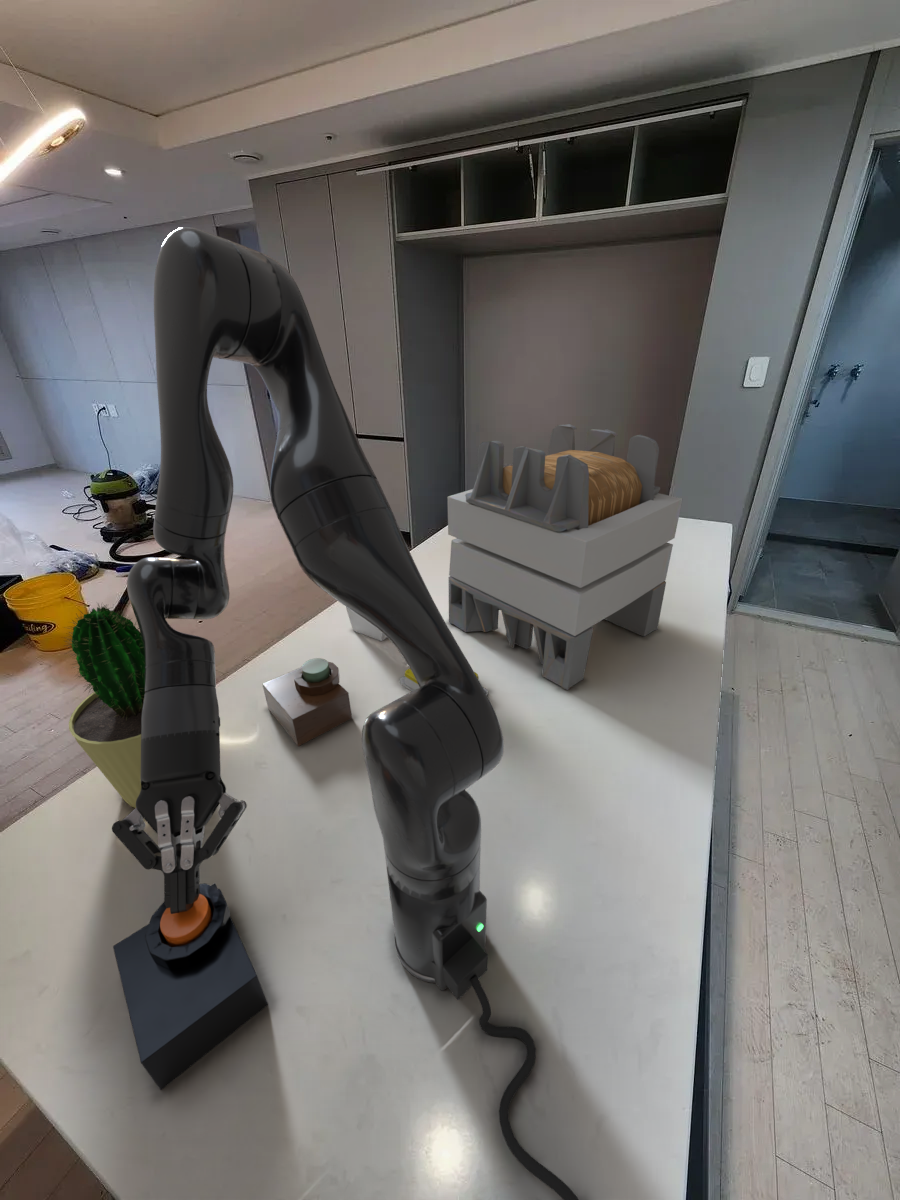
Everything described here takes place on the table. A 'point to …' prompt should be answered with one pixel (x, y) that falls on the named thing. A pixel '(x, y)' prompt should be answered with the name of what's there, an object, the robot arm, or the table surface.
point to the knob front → (186, 923)
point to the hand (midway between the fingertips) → (182, 910)
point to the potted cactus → (110, 697)
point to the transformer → (561, 545)
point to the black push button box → (186, 990)
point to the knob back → (315, 670)
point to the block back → (307, 704)
